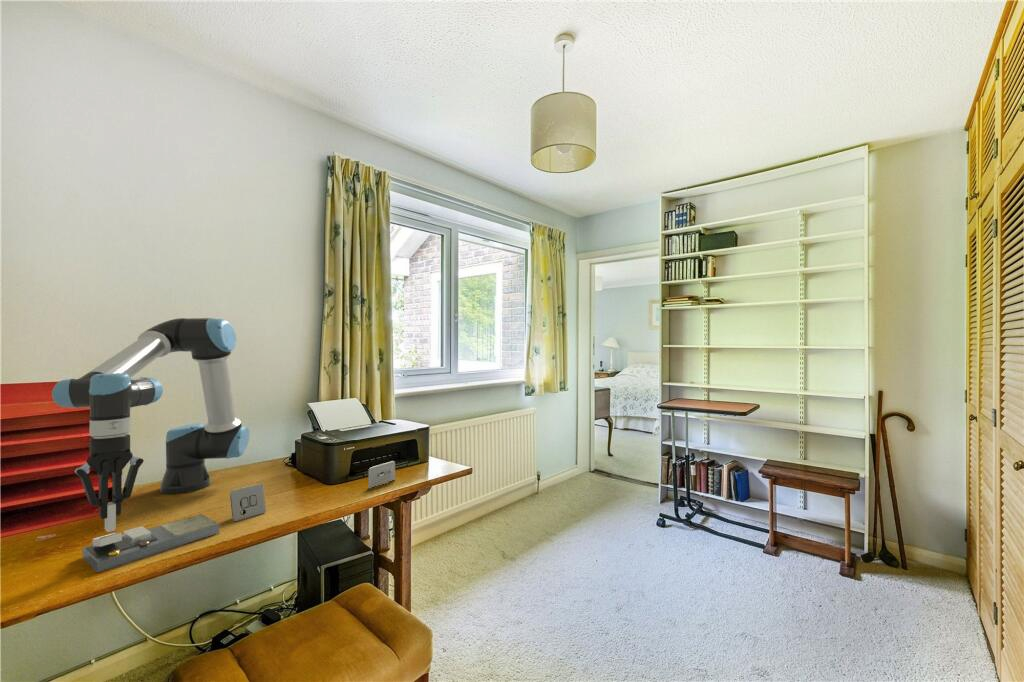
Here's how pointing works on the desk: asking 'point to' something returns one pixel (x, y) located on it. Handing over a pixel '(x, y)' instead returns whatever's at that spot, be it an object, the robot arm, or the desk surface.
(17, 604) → the desk surface
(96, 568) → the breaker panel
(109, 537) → the block
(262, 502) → the electrical switch
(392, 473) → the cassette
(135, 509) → the desk surface
